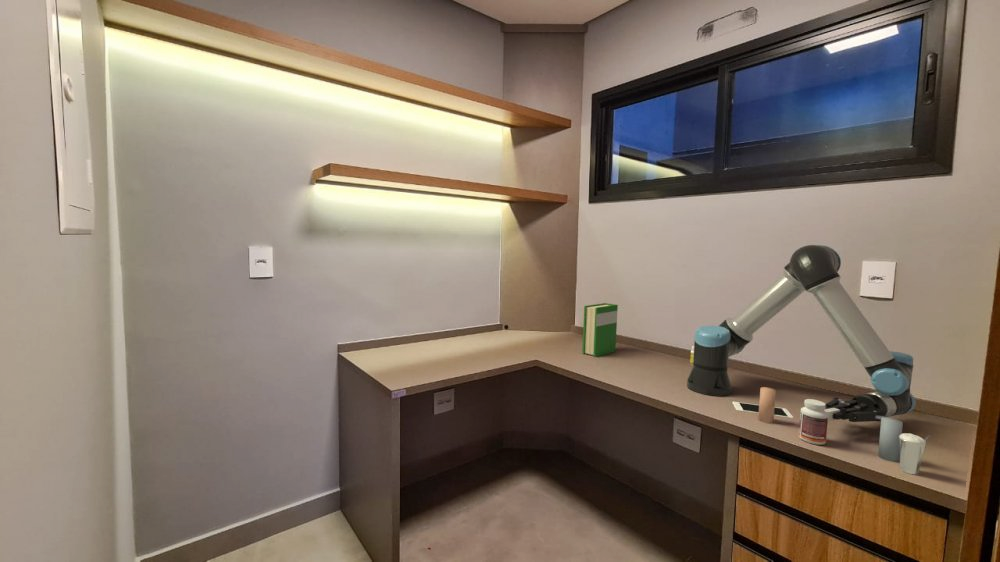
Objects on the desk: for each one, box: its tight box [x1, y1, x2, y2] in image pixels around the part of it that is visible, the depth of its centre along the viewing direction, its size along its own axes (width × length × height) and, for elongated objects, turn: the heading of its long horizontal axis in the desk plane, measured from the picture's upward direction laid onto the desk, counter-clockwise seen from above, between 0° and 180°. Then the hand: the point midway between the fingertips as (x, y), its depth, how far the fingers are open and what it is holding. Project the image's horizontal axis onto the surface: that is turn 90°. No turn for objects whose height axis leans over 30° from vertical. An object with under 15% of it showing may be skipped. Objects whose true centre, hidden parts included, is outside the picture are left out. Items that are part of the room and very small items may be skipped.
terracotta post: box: [757, 386, 777, 424], centre depth 127 cm, size 4×4×10 cm
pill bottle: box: [798, 398, 829, 446], centre depth 114 cm, size 6×6×11 cm
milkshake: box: [899, 432, 931, 475], centre depth 99 cm, size 4×5×10 cm
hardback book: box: [581, 302, 619, 358], centre depth 204 cm, size 18×7×24 cm, turn 132°
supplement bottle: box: [689, 345, 694, 367], centre depth 186 cm, size 5×5×8 cm
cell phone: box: [732, 401, 794, 419], centre depth 136 cm, size 8×16×1 cm, turn 70°
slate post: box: [878, 417, 904, 463], centre depth 106 cm, size 4×4×10 cm
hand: (821, 416), depth 115 cm, fingers closed
